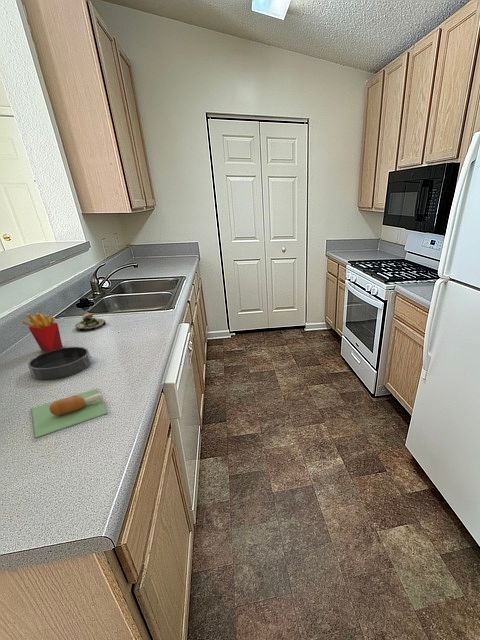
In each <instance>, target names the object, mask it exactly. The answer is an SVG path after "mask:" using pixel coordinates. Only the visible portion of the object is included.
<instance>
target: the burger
mask: <svg viewBox="0 0 480 640" xmlns="http://www.w3.org/2000/svg"><path fill="white" fill-rule="evenodd" d="M103 324H105V325H106V324H107V321H106V320H105V319H102V318H95V317H94V315H93V314H92V313H84V314H83V315H82V317H81V321H79V322H78V323H76V324H75V330H76V331H78V332H80V331H81V330H90V329H95V328H99V327H100V326H102V325H103Z"/></svg>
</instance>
